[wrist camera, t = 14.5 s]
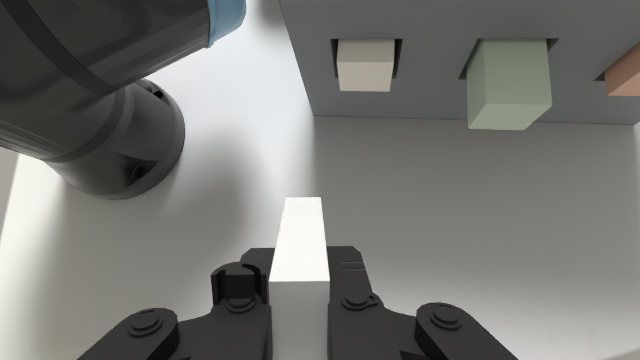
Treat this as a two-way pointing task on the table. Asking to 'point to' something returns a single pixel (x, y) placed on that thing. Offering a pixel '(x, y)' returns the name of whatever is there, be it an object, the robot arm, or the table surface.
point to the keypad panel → (464, 53)
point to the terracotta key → (624, 74)
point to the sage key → (507, 83)
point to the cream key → (365, 64)
